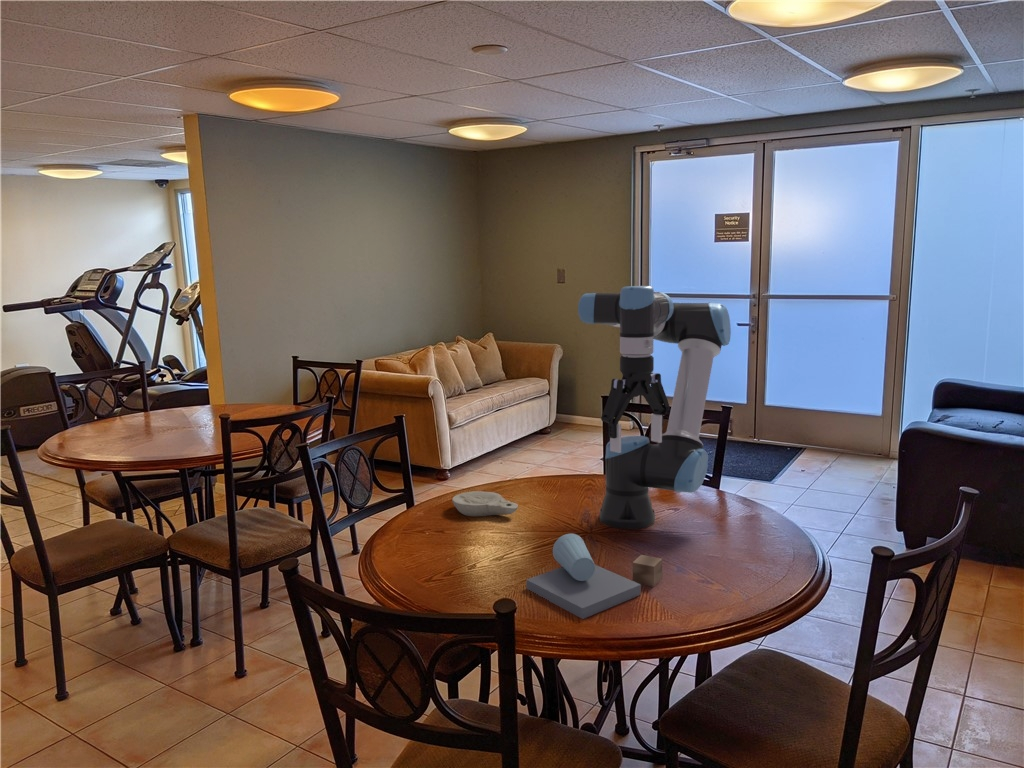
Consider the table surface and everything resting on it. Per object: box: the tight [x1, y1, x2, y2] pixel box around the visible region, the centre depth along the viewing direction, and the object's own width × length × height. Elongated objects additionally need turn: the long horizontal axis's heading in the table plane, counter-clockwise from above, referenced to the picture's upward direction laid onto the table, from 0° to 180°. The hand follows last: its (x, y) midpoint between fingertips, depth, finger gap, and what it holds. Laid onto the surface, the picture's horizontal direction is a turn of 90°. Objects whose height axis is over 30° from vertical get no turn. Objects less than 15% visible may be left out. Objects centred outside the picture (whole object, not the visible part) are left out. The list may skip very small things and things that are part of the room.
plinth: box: [525, 564, 642, 620], centre depth 160 cm, size 18×17×2 cm
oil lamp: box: [451, 490, 519, 517], centre depth 211 cm, size 21×14×5 cm
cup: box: [552, 533, 596, 581], centre depth 163 cm, size 8×8×10 cm
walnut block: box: [632, 554, 663, 588], centre depth 165 cm, size 5×5×5 cm
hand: (636, 446), depth 170 cm, fingers open, 13 cm apart
